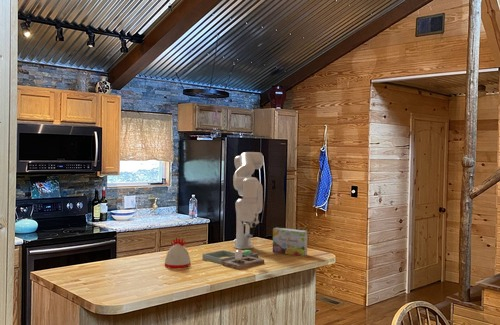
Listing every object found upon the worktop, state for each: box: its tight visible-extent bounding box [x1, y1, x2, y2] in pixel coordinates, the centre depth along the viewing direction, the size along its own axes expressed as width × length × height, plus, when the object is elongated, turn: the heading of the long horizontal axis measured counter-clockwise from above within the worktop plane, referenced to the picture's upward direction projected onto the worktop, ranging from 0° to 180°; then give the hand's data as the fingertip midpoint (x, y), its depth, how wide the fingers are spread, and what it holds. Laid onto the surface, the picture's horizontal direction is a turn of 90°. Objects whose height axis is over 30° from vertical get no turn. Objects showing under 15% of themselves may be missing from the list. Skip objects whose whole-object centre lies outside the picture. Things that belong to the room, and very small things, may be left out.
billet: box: [245, 222, 254, 239], centre depth 267 cm, size 4×4×8 cm
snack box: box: [272, 227, 308, 257], centre depth 297 cm, size 21×6×15 cm, turn 62°
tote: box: [201, 249, 243, 265], centre depth 276 cm, size 16×16×4 cm
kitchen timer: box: [164, 237, 191, 269], centre depth 264 cm, size 14×14×15 cm
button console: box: [242, 251, 259, 258], centre depth 282 cm, size 9×9×3 cm
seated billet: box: [234, 249, 243, 264], centre depth 261 cm, size 4×4×8 cm
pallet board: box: [222, 256, 265, 271], centre depth 264 cm, size 12×20×3 cm, turn 136°
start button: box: [243, 249, 252, 255], centre depth 282 cm, size 4×4×4 cm
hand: (249, 233), depth 267 cm, fingers closed on billet, 4 cm apart
